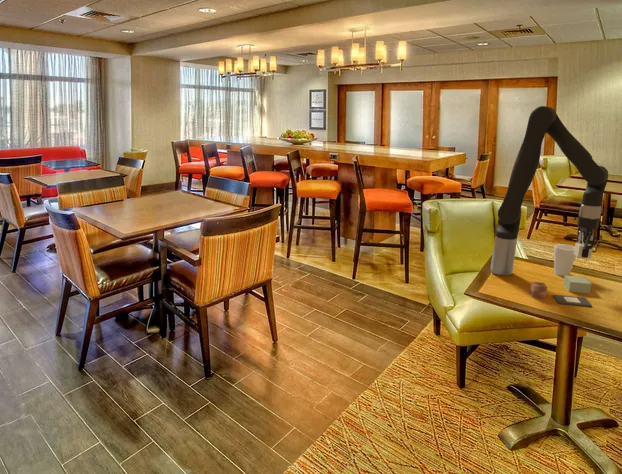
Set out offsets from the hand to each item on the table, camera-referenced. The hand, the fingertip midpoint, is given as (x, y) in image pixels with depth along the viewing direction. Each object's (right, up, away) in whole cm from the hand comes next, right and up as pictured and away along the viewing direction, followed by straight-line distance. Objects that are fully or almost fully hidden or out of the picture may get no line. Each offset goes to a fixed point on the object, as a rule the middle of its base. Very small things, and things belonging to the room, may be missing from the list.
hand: (582, 255), depth 193 cm
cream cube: (0, 0, 0) cm, 0 cm away
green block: (0, -15, +4) cm, 15 cm away
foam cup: (+3, -10, +21) cm, 24 cm away
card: (-9, -18, -9) cm, 22 cm away
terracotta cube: (-20, -16, -3) cm, 26 cm away
